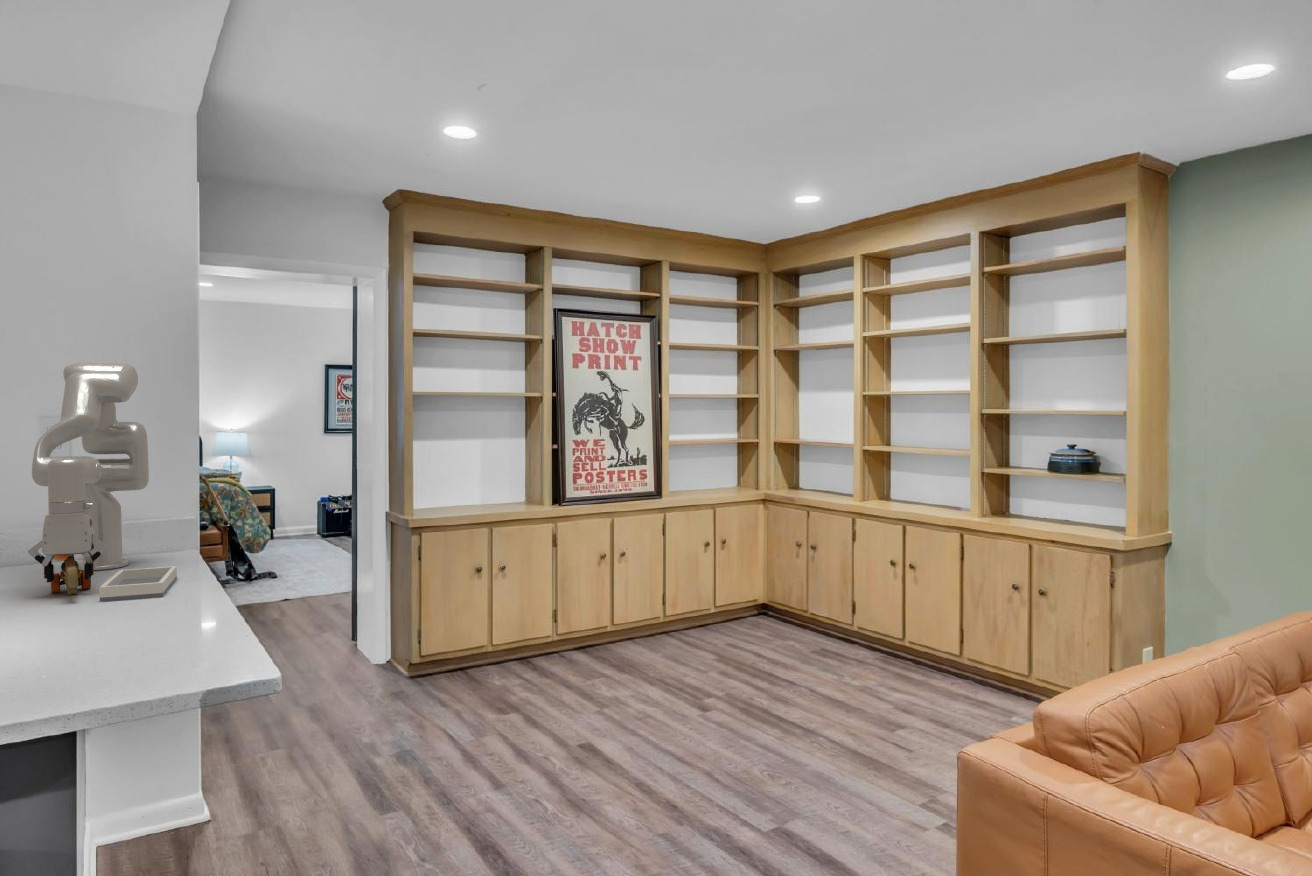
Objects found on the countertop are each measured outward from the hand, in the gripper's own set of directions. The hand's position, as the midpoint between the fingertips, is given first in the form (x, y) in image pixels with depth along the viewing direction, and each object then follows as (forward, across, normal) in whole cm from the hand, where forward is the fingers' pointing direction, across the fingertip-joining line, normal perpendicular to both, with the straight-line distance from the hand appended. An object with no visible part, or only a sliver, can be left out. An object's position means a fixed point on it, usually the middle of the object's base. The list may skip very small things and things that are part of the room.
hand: (69, 579), depth 200 cm
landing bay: (+4, -15, 0) cm, 15 cm away
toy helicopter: (+4, 0, 0) cm, 4 cm away
